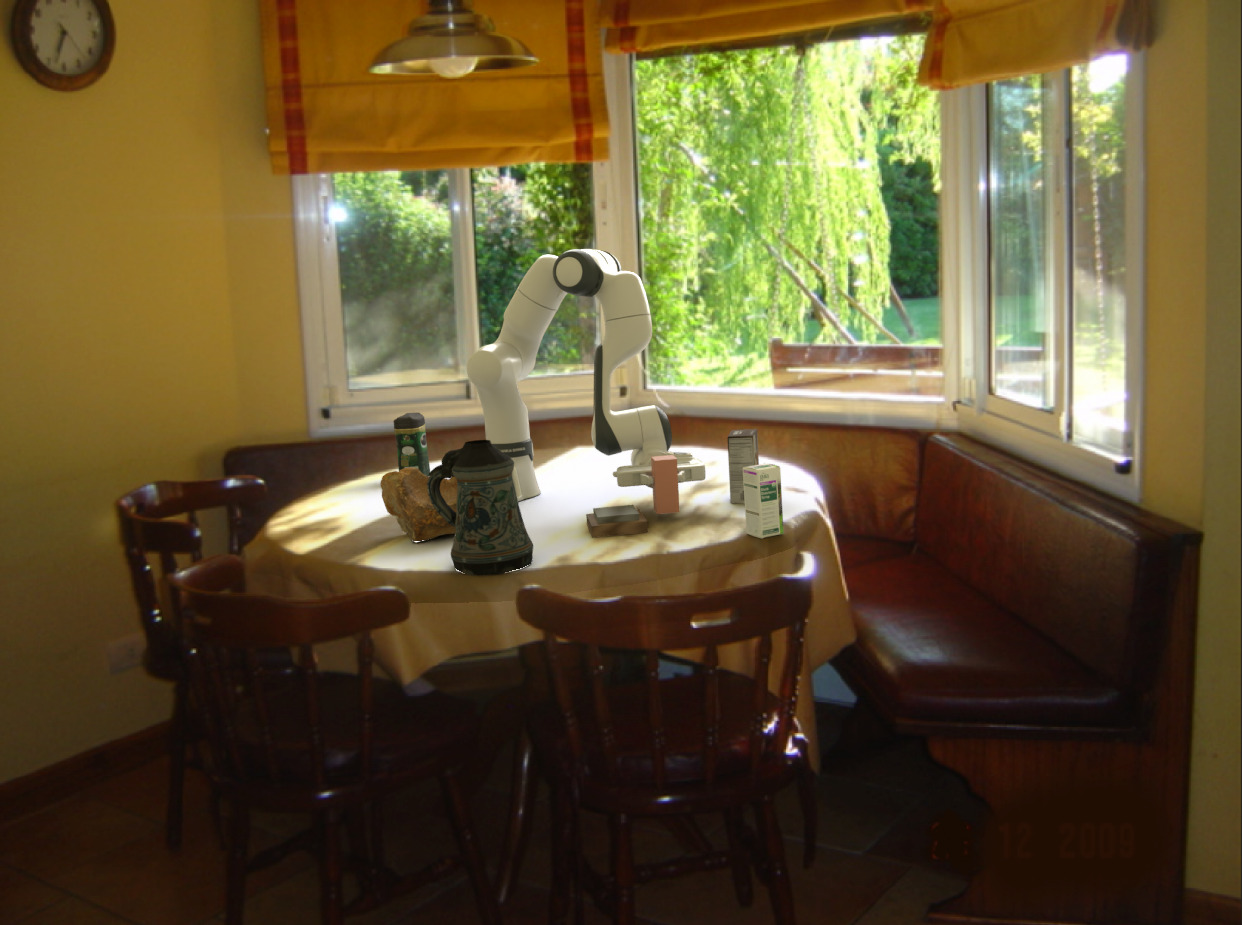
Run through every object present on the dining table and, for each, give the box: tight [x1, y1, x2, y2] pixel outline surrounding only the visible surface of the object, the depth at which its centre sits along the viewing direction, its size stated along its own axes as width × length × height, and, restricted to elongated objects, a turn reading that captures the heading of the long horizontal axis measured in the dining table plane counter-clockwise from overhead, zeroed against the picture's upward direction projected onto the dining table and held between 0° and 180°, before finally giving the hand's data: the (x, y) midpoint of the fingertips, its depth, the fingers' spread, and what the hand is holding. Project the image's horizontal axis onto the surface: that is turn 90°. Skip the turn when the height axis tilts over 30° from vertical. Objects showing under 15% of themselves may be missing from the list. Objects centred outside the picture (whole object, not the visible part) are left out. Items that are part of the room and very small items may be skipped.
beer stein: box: [427, 439, 534, 577], centre depth 235 cm, size 16×19×25 cm
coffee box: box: [726, 428, 760, 504], centre depth 280 cm, size 9×6×16 cm
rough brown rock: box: [379, 467, 457, 541], centre depth 263 cm, size 23×17×15 cm
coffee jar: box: [393, 412, 431, 477], centre depth 331 cm, size 10×8×19 cm
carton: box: [651, 455, 680, 515], centre depth 264 cm, size 5×5×12 cm
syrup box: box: [743, 462, 784, 539], centre depth 247 cm, size 6×6×14 cm
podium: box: [585, 504, 649, 538], centre depth 260 cm, size 12×12×4 cm
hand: (665, 480), depth 263 cm, fingers closed on carton, 5 cm apart
